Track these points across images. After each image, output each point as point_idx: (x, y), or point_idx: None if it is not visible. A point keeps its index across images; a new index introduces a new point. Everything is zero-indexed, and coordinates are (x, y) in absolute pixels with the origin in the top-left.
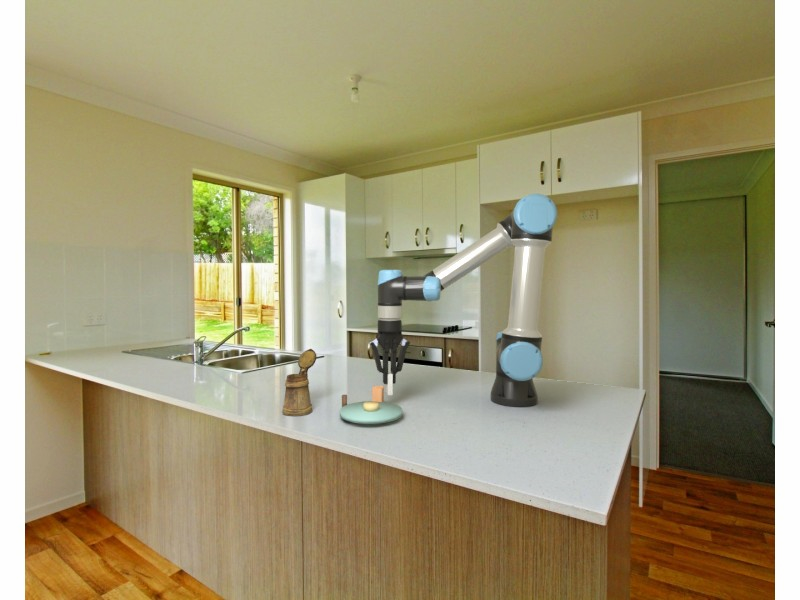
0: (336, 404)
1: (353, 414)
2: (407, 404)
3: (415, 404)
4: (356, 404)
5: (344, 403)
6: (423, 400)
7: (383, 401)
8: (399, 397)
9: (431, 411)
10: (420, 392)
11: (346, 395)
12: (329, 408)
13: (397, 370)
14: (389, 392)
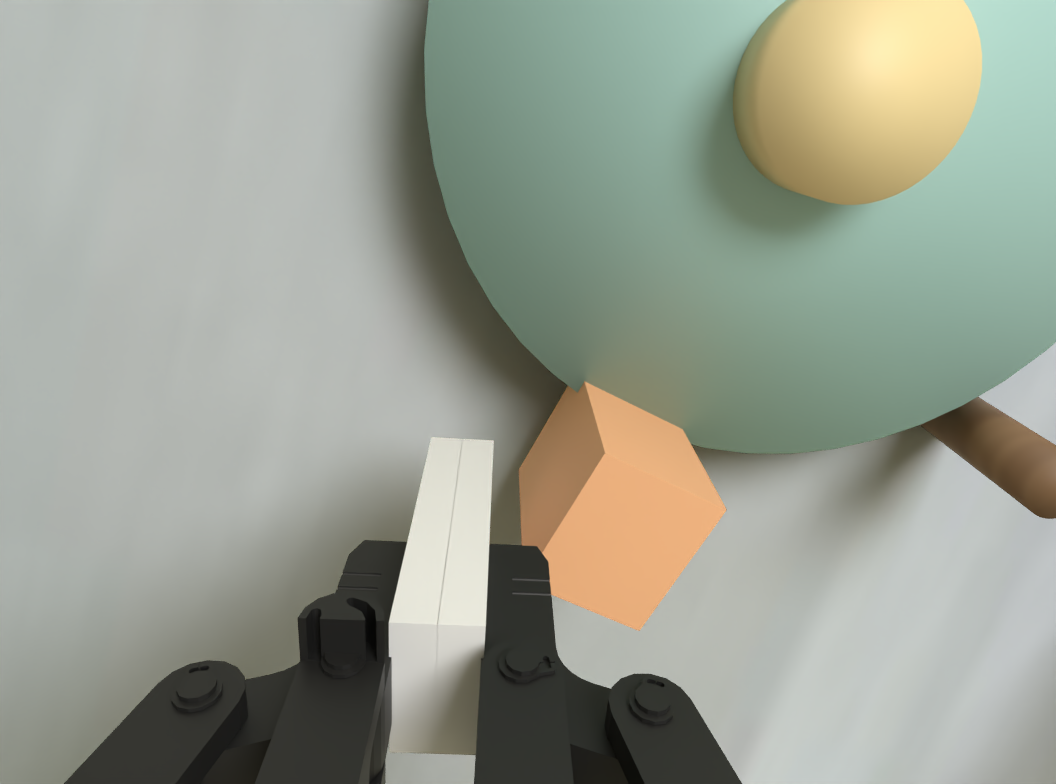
0: (906, 630)
1: None
2: (254, 445)
3: (167, 420)
4: (896, 364)
5: (1013, 420)
6: (51, 524)
7: (526, 464)
8: None
9: (27, 105)
10: (36, 760)
11: (1043, 475)
12: (1015, 540)
13: (256, 703)
14: (471, 456)
